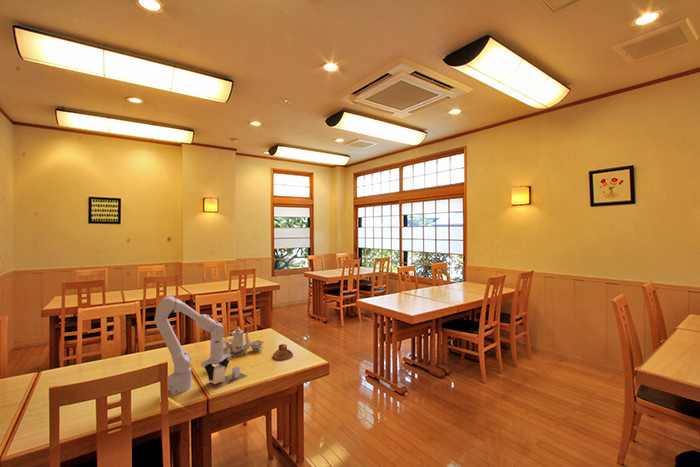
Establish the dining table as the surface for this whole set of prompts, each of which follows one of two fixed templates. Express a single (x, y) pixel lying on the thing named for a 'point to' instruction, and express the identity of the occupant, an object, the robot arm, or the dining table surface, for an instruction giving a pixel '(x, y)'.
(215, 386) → the stand
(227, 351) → the mug
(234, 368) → the post
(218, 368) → the tan rectangular block
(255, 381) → the dining table surface
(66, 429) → the dining table surface
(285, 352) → the bell
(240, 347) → the chinaware
